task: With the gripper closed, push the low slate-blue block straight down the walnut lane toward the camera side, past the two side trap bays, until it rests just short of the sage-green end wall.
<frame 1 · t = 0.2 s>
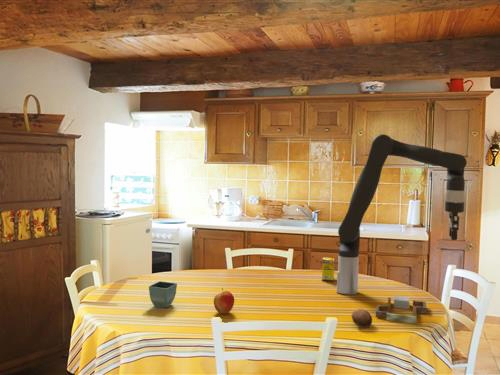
hand: (452, 238, 192), 28 cm above the table, fingers open, 8 cm apart
apple: (223, 313, 178), on the table
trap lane: (401, 312, 181), on the table
brown oval ball: (361, 326, 166), on the table
flower pot: (163, 306, 186), on the table
block: (401, 306, 189), on the table
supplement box: (327, 280, 229), on the table
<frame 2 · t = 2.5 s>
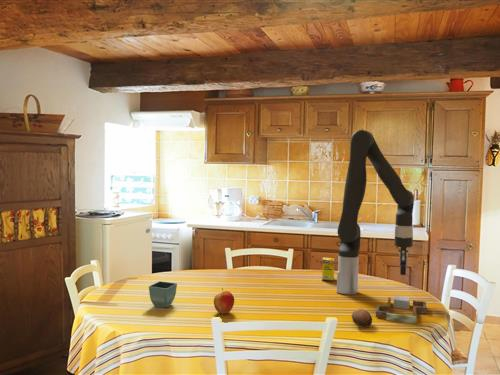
hand: (403, 274, 196), 11 cm above the table, fingers closed
nothing on the table moved.
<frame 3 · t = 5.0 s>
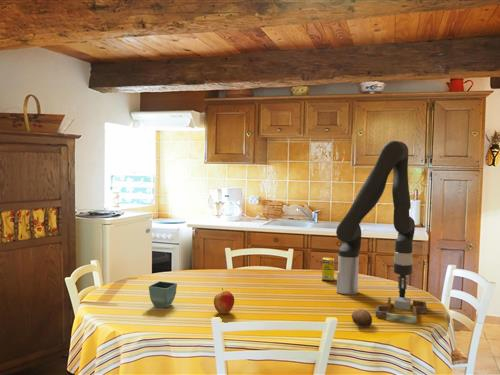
hand: (401, 301, 193), 1 cm above the table, fingers closed
block: (402, 307, 188), on the table, touching gripper
everything else where it was.
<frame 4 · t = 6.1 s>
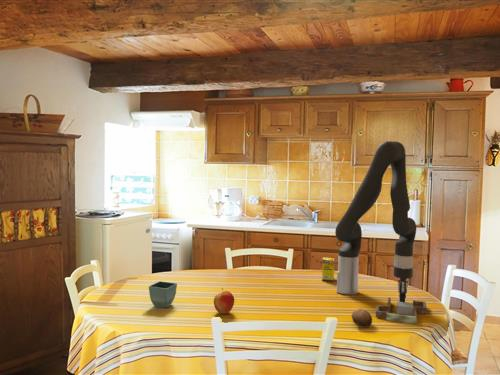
hand: (402, 306, 187), 1 cm above the table, fingers closed
block: (404, 312, 182), on the table
everything else where it was.
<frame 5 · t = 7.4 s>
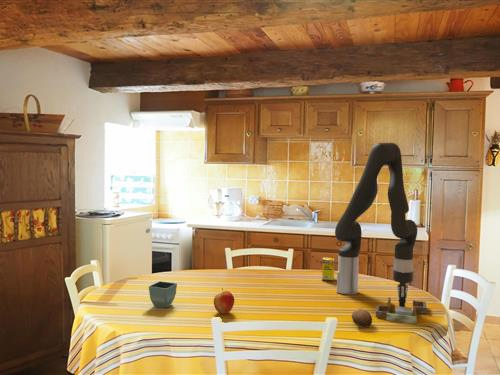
hand: (401, 311, 181), 1 cm above the table, fingers closed
block: (403, 317, 176), on the table, touching gripper
everything else where it was.
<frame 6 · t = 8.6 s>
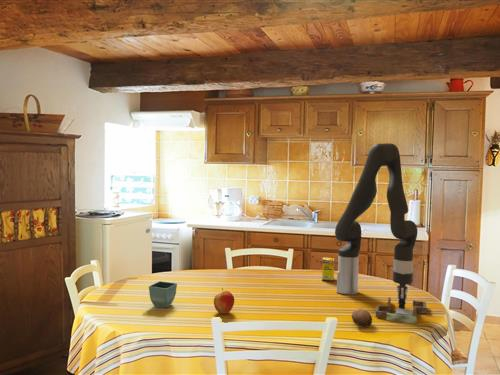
hand: (401, 313, 179), 1 cm above the table, fingers closed
block: (403, 320, 174), on the table
everything else where it was.
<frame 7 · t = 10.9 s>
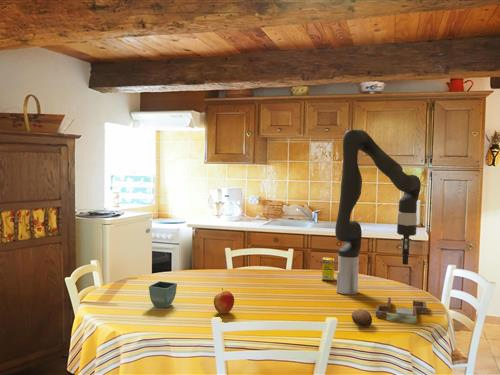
hand: (405, 264, 186), 19 cm above the table, fingers closed
nothing on the table moved.
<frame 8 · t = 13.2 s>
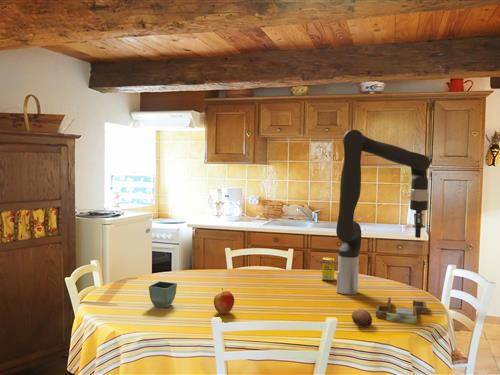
hand: (417, 237, 201), 27 cm above the table, fingers closed
nothing on the table moved.
at the end: block 1.2 cm from the target spot on the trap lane, point 0.0 cm above the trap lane's base; block tilted 0°; block moved 16.0 cm from its start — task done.
